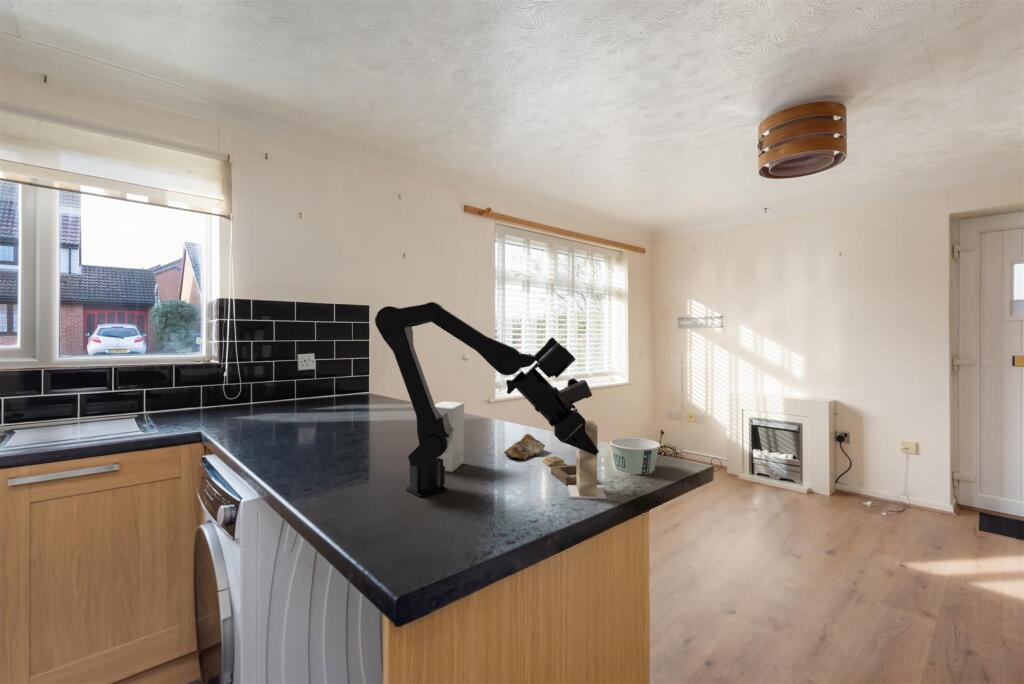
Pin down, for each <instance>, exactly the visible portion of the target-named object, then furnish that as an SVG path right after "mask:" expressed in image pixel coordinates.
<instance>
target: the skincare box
mask: <svg viewBox="0 0 1024 684" xmlns="http://www.w3.org/2000/svg"><path fill="white" fill-rule="evenodd" d="M434 405H435V407H436V409H437V410H438V412H439V413H440V414H441V416H442V415H444V414H446V413H447V414H448V417H449V423H450V425H451V427H452V428H453V429H454V431H453V432H452V441H451V443H450V445H449V447H448V448H447V450H446V451H445V452H444V453H443V454H442V455H441V456H440V457H439V458H440V459H443V465H444V466H445V472H446V471H447V472H448V473H452V472H454V471H455V470H457V469H458V468H459V467H460V466H462V465H463V464H464V444H465V443H464V441H465V440H464V439H465V402H463V401H460V402H459V401H440V402H438V403H434Z"/></svg>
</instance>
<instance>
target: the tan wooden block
mask: <svg viewBox="0 0 1024 684" xmlns="http://www.w3.org/2000/svg"><path fill="white" fill-rule="evenodd" d="M585 421H586V424H585V431H586V433H587V434H588V436H589V437H590V439H591V440H592V442H593V443H594V445H595V446H596V448H597V449H598V425H597V423H596V422H595V421H594V420H585ZM575 448H576V447H575ZM575 451H576V453H575V454H576V455H575V457H576V459H575V460H576V461H575V463H576V464H575V465H576V473H575V476H576V487H577V490H578V493H579V496H597V486H598V454H597V455H593V454H591V453H588V452H586V451H584V450H581V449H579V448H576V449H575Z"/></svg>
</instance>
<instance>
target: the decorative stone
mask: <svg viewBox="0 0 1024 684" xmlns="http://www.w3.org/2000/svg"><path fill="white" fill-rule="evenodd" d="M545 446H546V445H545V444H544V443H543V442H541V441H540V440H538V439H536V438H535V437H534V436H532V434H530V433H526V434H524V436H523V437H522V438H521V439H520V440H519V441H516V442H515V443H514V444H512V445H511V446H510V447H509V448H507V449H506V450H504V451H503V453H504V455H506V456H508V457H511V458H514V459H518V458H519V459H518V460H522V459H523V460H525V461H526V459H527V458H530V457H533V456H535V455H536V456H538V455H540V454H541V453H542V452H543V450H544V449H545Z"/></svg>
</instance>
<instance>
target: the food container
mask: <svg viewBox="0 0 1024 684" xmlns="http://www.w3.org/2000/svg"><path fill="white" fill-rule="evenodd" d="M609 444H610V445H611V450H612V456H613V461H614V462H613V463H614V467H615V468H616V469H617V470H618V471H617V470H616V469H615V470H616V471H617V472H619V471H621V472H620V473H622V472H625V473H624V474H626V473H631V474H630V475H633V474H644V473H649V472H652V471H654V472H655V469H656V464H657V458H658V453H659V449H660V448H661V446H662V445H661V443H659V442H658V441H655V440H652V439H648V438H638V437H618V438H613V439H611V440H610V441H609Z"/></svg>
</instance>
